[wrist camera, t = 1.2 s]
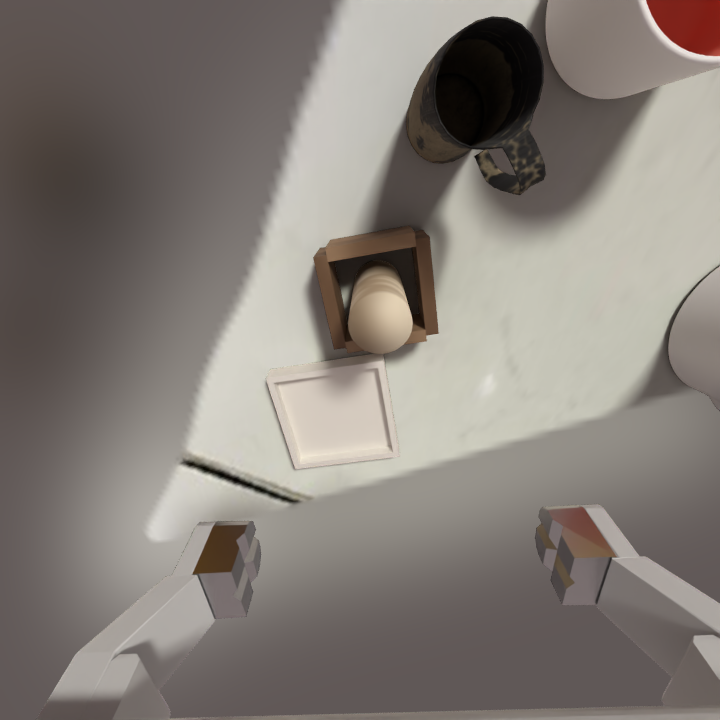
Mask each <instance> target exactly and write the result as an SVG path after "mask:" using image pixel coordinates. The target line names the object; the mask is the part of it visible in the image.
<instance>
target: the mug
mask: <svg viewBox="0 0 720 720" xmlns="http://www.w3.org/2000/svg"><path fill="white" fill-rule="evenodd" d="M543 71H544V65H543V60H542V56H541V52H540V48H539V46H538V44H537V42H536V41H535V39H534V37H533V35H532V34H531V33H530V32H529V31H528V30H527V29H526V28H525V27H524V26H523V25H522V24H521V23H518V22H516V21H514V20H512V19H509V18H506V17H488V18H485V19H481V20H477V21H475V22H474V23H472V24H470V25H469V26H467V27H465V28H464V29H462V30H461V31H459V32H458V33H457V34H455V35H454V36H453V37H451V38H450V39H449V40H448V41H447V42H446V43H445V44H444V45H443V46H442V47H441V48H440V49H439V51H438V52H437V53H436V54H435V56H434V57H433V58H432V59H431V61H430V62H429V63H428V65H427V66H426V68H425V70H424V71H423V73H422V75H421V76H420V78H419V80H418V83H417V85H416V87H415V89H414V92H413V95H412V98H411V101H410V105H409V108H408V111H407V120H406V127H407V134H408V137H409V140H410V143H411V145H412V146H413V148H414V149H415V151H416V152H417V153H418V154H419V155H420V156H421V157H423V158H424V159H425V160H428V161H431V162H433V163H448V162H452V161H455V160H457V159H459V158H460V157H462V156H464V155H465V154H466V153H467V152H468V151H470V150H471V149H481V150H483V151H482V152H480V153H479V154H477V155H476V156H475V158H476V161H477V163H478V165H479V168H480V170H481V172H482V174H483V176H484V178H485V180H486V181H487V182H488V183H489V184H490V185H491V186H493V187H494V188H497V189H499V190H502V191H505V192H508V193H512V194H516V195H521V194H522V193H523V192H524V191H525V190H527V189H528V188H529V187H530V186H532V185H534V184H536V183H538V182H540V181H542V180H544V177H545V175H546V172H545V165H544V162H543V159H542V156H541V154H540V151H539V149H538V147H537V144H536V142H535V140H534V138H533V137H532V135H531V133H530V131H529V130H528V129H529V126H530V123H531V120H532V117H533V113H534V111H535V108H536V106H537V104H538V102H539V100H540V95H541V91H542V86H543ZM495 148H503V150H504V152H505V153H506V155H507V157H508V158H509V161H510V163H511V165H512V167H513V169H514V171H515V174H516V176H514V175H509V174H506V173H504V172H501V171H500V170H499V169H498V168H497V166H496V165H495V163H494V161H493V160H492V158H491V156H490V154H489V152H488V150H487V149H495Z"/></svg>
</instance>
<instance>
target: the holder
mask: <svg viewBox="0 0 720 720" xmlns="http://www.w3.org/2000/svg"><path fill="white" fill-rule="evenodd" d="M410 247H412V253H413V261H414V270H415V279H416V287H417V296H418V305H419V313H418V314H412V321H413V325H412V331H411V334H410V336H409V338H408V340H407V341H406V342H405V343H404V344H411V343H418V342H424V341H427V340H426V335H432V334H439V333H438V322H437V311H436V301H435V290H434V279H433V269H432V258H431V247H430V237H429V236H428V235H427V234H426V233H425V232H424V231H423V230H418V231H413V229H412V228H411V227H410V226H404V227H399V228H393V229H388V230H382V231H377V232H371V233H366V234H360V235H355V236H349V237H344V238H338V239H333V240H330V241H329V243H328V245H327V246H326V247H324V248H320V249H319V250H318V252H317V253H316V254H315V256H314V257H313V258H314V263H315V267H316V272H317V276H318V280H319V285H320V289H321V294H322V298H323V302H324V307H325V311H326V316H327V320H328V324H329V329H330V333H331V337H332V342H333V346H334V349H341V348H346V349H347V353H352V352H358V351H365V350H363V349H362V348H360V347H359V346H358V345H357V344H356V343H355V342H354V341H353V339H352V337H351V335H350V332H349V328H348V324H347V319H346V314H345V309H344V304H343V299H342V294H341V289H340V284H339V279H338V275H337V270H336V265H335V261H337V260H342V259H348V258H354V257H359V256H365V255H371V254H376V253H382V252H387V251H393V250H399V249H404V248H410ZM404 344H403V345H404Z"/></svg>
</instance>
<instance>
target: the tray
mask: <svg viewBox="0 0 720 720" xmlns="http://www.w3.org/2000/svg"><path fill="white" fill-rule="evenodd" d="M266 381H267V384H268V387H269V390H270V393H271V396H272V399H273V402H274V406H275V409H276V412H277V415H278V418H279V421H280V424H281V427H282V430H283V433H284V436H285V439H286V442H287V445H288V448H289V451H290V454H291V458H292V461H293V464H294V467H295V469H301V468H309V467H317V466H325V465H334V464H342V463H350V462H358V461H366V460H375V459H383V458H391V457H399V456H400V454H399V445H398V439H397V433H396V427H395V421H394V415H393V409H392V403H391V397H390V391H389V385H388V379H387V373H386V367H385V361H384V355H383V354H368V355H362V356H355V357H348V358H342V359H335V360H328V361H322V362H315V363H308V364H302V365H295V366H289V367H282V368H275V369H270V371H269V373H268V375H267V376H266Z"/></svg>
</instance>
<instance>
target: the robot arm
mask: <svg viewBox="0 0 720 720" xmlns="http://www.w3.org/2000/svg"><path fill="white" fill-rule="evenodd" d="M668 353H669V359H670V363H671V366H672V368H673V370H674V372H675V374H676V375H677V376H678V377H679V379H680V380H681V381H683V382H684V383H685V384H686V385H688V386H689V387H691V388H693V389H695V390H698V391H700V392H702V393H704V394H706V395H707V396H709V397H710V399H711V401H712V402H713V404H714V405H715V407H716V408H717V409H718V410H719V411H720V266H719V267H718V268H717V269H715V270H714V271H713V272H712V273H710V274H709V275H708V276H707V277H706V278H705V279H704V280H703V281H702V282H701V283H700V284H699V285H698V286H697V287H696V288H695V289H694V290H693V292H692V293H691V294H690V295H689V297H688V298H687V299H686V301H685V302H684V304H683V305H682V307H681V309H680V310H679V312H678V314H677V316H676V318H675V321H674V323H673V326H672V329H671V332H670V337H669V345H668ZM539 519H540V520H541V523H542V524H541V525H539V526H538V527H537V528H536V536H535V539H536V547H537V550H538V554H539V556H540V559H541V561H542V563H543V565H544V566H546V567H547V568H548V569H549V570H551V571H552V576H551V582H552V584H553V587H554V588H555V591H556V593H557V595H558V597H559V599H560V601H561V603H562V605H597V606H596V607H597V608H598V609H599V610H600V611H601V612H602V613H603V614H604V615H605V616H607V617H608V618H609V619H610V620H611V621H612V622H613V623H614V624H615V625H616V626H617V627H618V628H619V629H620V630H622V631H623V632H624V633H625V634H626V635H627V636H628V637H629V638H630V639H631V640H632V641H634V643H635V644H637V645H638V646H639V647H640V648H641V649H642V650H643V651H644V652H645V653H646V654H647V655H648V656H650V657H651V658H652V659H653V660H654V661H655V662H656V663H657V664H658V665H659V666H660V667H661V668H662V669H663V670H664V671H665V672H667V673H668V674H669V675H670V676H671V677H672V678H671V680H670V682H669V684H668V686H667V688H666V690H665V692H664V694H663V697H662V699H661V700H662V702H663V704H664V706H643V707H605V708H604V707H603V708H602V707H601V708H565V709H564V708H561V709H524V710H481V711H442V712H405V713H403V712H402V713H366V714H365V713H364V714H324V715H286V716H247V717H211V718H210V717H208V718H172V719H171V718H169V717H170V714H171V712H170V710H169V707H168V705H167V704H166V702H165V700H164V698H163V697H162V695H161V693H160V692H159V690H160V689H161V688H162V686H163V685H164V684H165V683H166V681H167V680H168V679H169V678H170V677H171V675H172V674H173V673H174V671H175V670H176V669H177V668H178V666H179V665H180V664H181V663H182V661H183V660H184V659H185V658H186V656H187V655H188V654H189V653H190V651H191V650H192V649H193V648H194V647H195V645H196V644H197V643H198V642H199V640H200V639H201V638H202V637H203V635H204V634H205V633H206V632H207V630H208V629H209V628H210V626H211V625H212V624H213V623H214V622H215V619H219V618H233V617H246V615H247V612H248V608H249V605H250V601H251V597H252V594H253V590H252V587H251V582H252V581H253V580H254V579H255V578H256V577H257V575H258V571H259V567H260V559H261V549H260V544H259V540H257V539H256V538H255V537H254V534H255V530H256V529H255V526H254V523H253V521H218V522H200V523H199V524H198V525H197V526H196V527H195V529H194V531H193V533H192V535H191V537H190V539H189V541H188V543H187V545H186V547H185V549H184V551H183V553H182V555H181V558H180V559H179V561H178V564H177V565H176V567H175V569H174V572H173V574H172V576H166V577H165V578H163V579H162V580H161V581H160V582H159V583H157V584H156V585H155V586H154V587H153V588H152V589H151V590H149V591H148V592H147V593H146V594H145V595H144V596H143V597H141V598H140V599H139V600H138V601H137V602H135V603H134V604H133V605H132V606H131V607H130V608H128V609H127V610H126V611H125V612H124V613H123V614H122V615H121V616H119V617H118V618H117V619H116V620H115V621H114V622H112V623H111V624H110V625H109V626H108V627H106V628H105V629H104V630H103V631H102V632H101V633H100V634H98V635H97V636H96V637H95V638H94V639H92V640H91V641H90V642H89V643H88V644H87V645H86V646H84V647H83V648H82V649H81V650H80V651H79V652H77V653H76V655H75V656H74V658H73V660H72V661H71V663H70V665H69V666H68V668H67V670H66V671H65V673H64V674H63V676H62V678H61V679H60V681H59V683H58V684H57V686H56V687H55V689H54V691H53V693H52V694H51V696H50V697H49V699H48V701H47V702H46V704H45V706H44V707H43V709H42V710H41V712H40V714H39V716H38V717H37V719H36V720H720V604H719V603H718V602H716V601H715V600H713V599H712V598H710V597H709V596H707V595H705V594H704V593H702V592H701V591H699V590H697V589H696V588H694V587H693V586H691V585H690V584H688V583H686V582H685V581H683V580H682V579H680V578H679V577H677V576H675V575H674V574H672V573H671V572H669V571H668V570H666V569H665V568H663V567H661V566H660V565H658V564H657V563H655V562H654V561H652V560H650V559H649V558H647V557H640V556H639V555H638V554H637V552H636V551H635V550H634V548H633V547H632V546H631V544H630V543H629V541H628V540H627V539H626V538H625V536H624V535H623V533H622V532H621V531H620V529H619V528H618V527H617V525H616V524H615V523H614V522H613V520H612V519H611V517H610V516H609V515H608V513H607V512H606V511H605V509H604V508H603V507H602V506H600V505H599V504H590V505H567V506H550V507H542V508H541V510H540V512H539Z"/></svg>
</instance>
